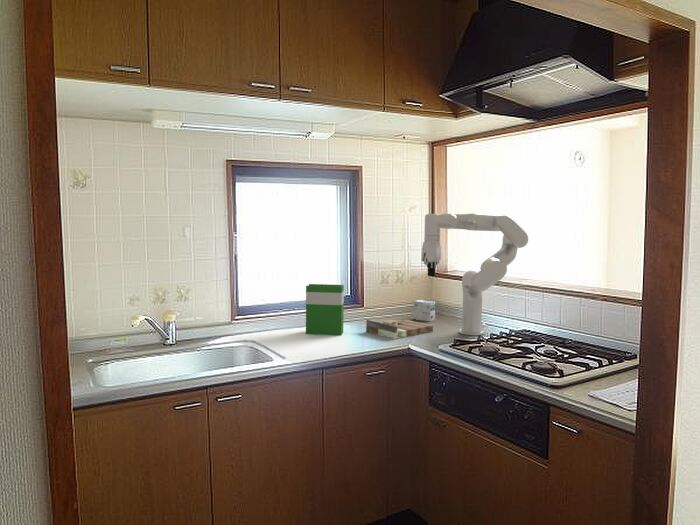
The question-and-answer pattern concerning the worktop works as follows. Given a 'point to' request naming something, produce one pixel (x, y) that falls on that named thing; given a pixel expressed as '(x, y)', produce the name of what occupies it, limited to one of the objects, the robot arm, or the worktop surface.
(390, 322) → the maple block
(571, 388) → the worktop surface
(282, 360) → the worktop surface
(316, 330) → the green cereal box
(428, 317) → the light bulb box
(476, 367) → the worktop surface
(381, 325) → the board
